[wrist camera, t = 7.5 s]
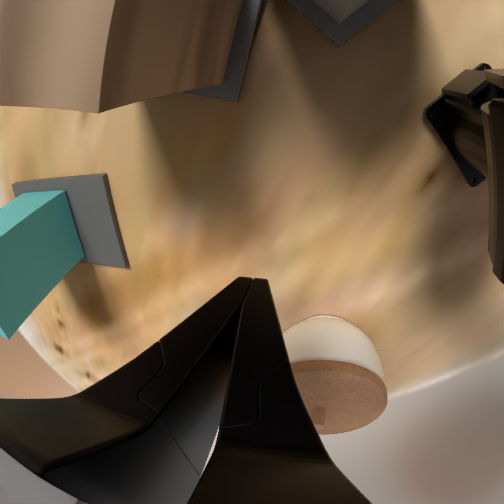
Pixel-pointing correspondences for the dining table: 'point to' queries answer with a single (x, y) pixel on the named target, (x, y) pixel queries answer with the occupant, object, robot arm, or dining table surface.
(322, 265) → the dining table surface
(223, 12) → the walnut block
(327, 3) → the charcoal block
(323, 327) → the lidded jar
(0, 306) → the teal block
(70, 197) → the dark gray pads
